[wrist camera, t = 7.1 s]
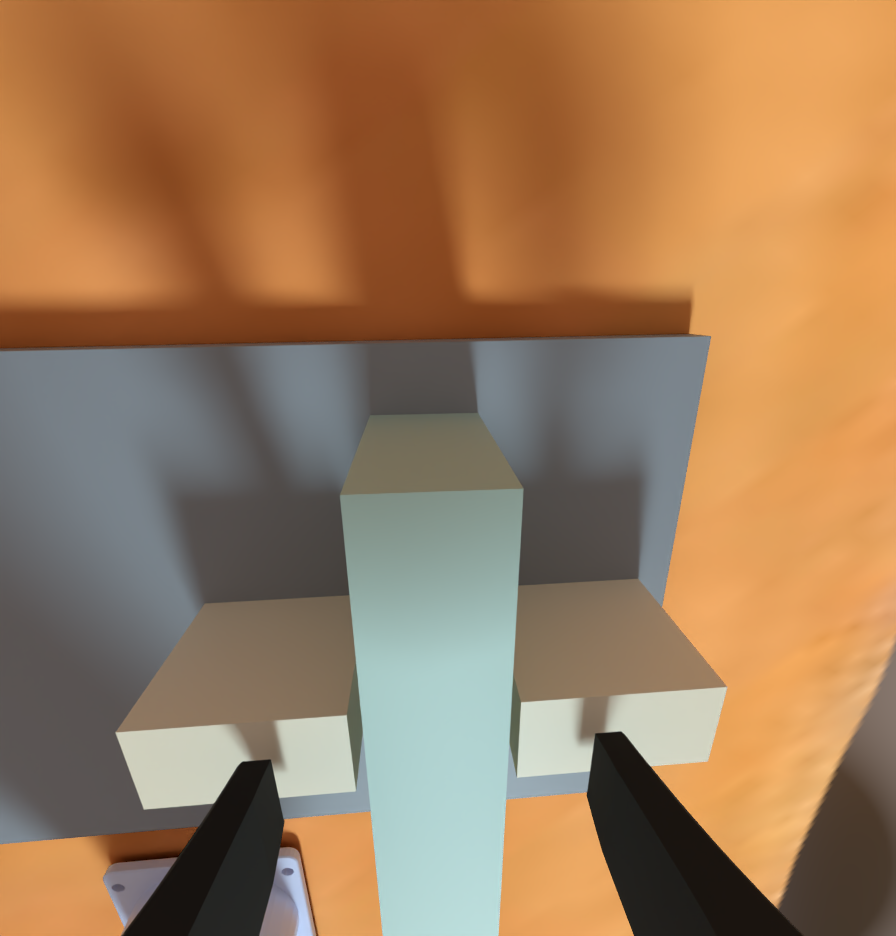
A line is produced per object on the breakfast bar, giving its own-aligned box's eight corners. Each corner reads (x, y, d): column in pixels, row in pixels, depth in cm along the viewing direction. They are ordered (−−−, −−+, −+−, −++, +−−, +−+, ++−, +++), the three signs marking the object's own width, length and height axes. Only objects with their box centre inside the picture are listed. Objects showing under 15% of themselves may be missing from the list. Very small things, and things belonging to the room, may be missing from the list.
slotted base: (618, 765, 19) (692, 931, 14) (-18, 819, 18) (-195, 1029, 13) (689, 334, 13) (866, 353, 8) (-279, 354, 12) (-838, 395, 6)
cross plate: (471, 766, 17) (496, 960, 12) (394, 772, 17) (386, 972, 12) (477, 412, 13) (523, 488, 7) (370, 415, 12) (339, 495, 7)
